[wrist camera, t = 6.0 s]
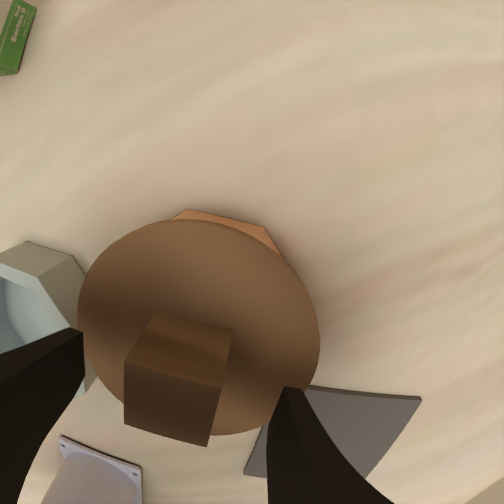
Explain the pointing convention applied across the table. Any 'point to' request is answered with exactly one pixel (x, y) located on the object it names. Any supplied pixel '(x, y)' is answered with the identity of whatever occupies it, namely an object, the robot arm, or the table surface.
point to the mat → (350, 426)
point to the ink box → (13, 33)
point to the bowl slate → (39, 298)
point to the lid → (196, 328)
